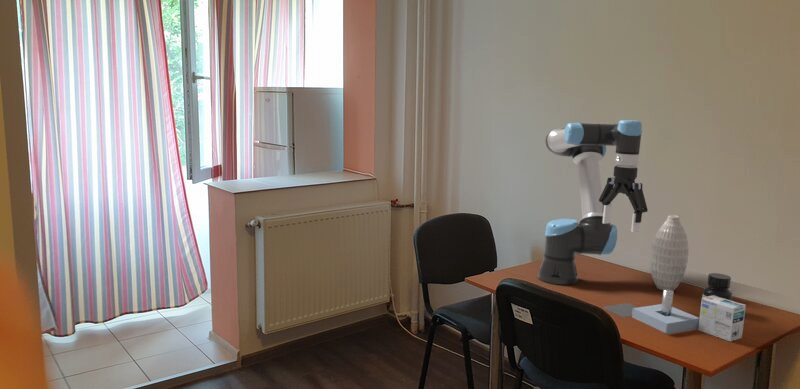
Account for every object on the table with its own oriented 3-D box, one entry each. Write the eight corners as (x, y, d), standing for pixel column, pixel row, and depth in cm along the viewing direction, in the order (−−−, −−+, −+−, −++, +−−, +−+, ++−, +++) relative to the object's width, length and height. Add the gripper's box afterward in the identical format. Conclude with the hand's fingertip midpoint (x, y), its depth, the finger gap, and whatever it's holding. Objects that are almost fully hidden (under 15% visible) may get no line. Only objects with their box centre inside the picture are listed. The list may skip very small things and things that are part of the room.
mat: (600, 308, 211) (601, 306, 211) (627, 304, 216) (627, 303, 215) (622, 318, 202) (622, 317, 202) (649, 314, 207) (650, 312, 207)
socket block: (631, 318, 202) (632, 308, 201) (663, 313, 208) (664, 303, 207) (665, 334, 189) (667, 323, 189) (698, 328, 195) (699, 318, 195)
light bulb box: (742, 338, 189) (747, 304, 187) (730, 342, 185) (735, 308, 183) (709, 326, 198) (713, 294, 196) (696, 330, 194) (700, 297, 192)
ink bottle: (695, 304, 218) (699, 271, 216) (719, 304, 219) (723, 271, 217) (711, 314, 208) (715, 280, 206) (736, 314, 209) (740, 280, 207)
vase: (648, 281, 243) (656, 211, 238) (684, 287, 238) (692, 215, 233) (646, 290, 232) (654, 216, 227) (683, 296, 226) (692, 221, 221)
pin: (657, 322, 199) (661, 289, 197) (664, 321, 200) (668, 288, 199) (665, 325, 197) (668, 292, 195) (671, 324, 198) (675, 291, 196)
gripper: (592, 161, 219) (586, 220, 223) (646, 171, 197) (639, 236, 201) (608, 161, 222) (603, 219, 226) (663, 170, 200) (656, 234, 204)
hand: (620, 227), depth 213 cm, fingers open, 13 cm apart
